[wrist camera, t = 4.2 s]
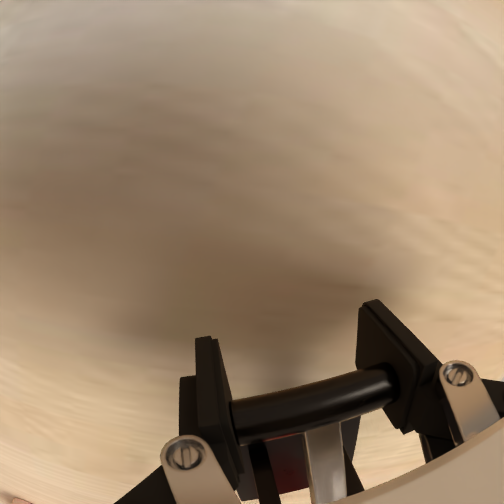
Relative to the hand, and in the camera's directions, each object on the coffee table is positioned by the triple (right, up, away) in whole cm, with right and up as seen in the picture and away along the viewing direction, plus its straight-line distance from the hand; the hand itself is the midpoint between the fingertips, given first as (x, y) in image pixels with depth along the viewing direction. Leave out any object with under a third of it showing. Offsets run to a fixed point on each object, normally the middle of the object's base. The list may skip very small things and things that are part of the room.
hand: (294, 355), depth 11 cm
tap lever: (+1, -7, -2) cm, 7 cm away
